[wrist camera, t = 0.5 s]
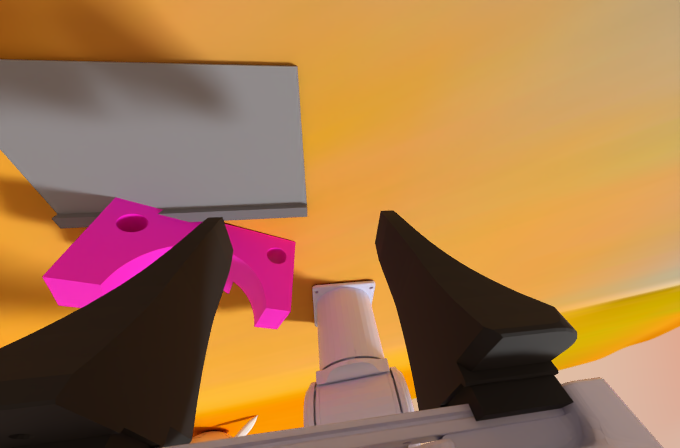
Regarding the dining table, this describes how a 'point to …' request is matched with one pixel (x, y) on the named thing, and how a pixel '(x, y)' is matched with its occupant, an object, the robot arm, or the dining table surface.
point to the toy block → (155, 240)
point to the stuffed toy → (222, 433)
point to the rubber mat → (156, 137)
